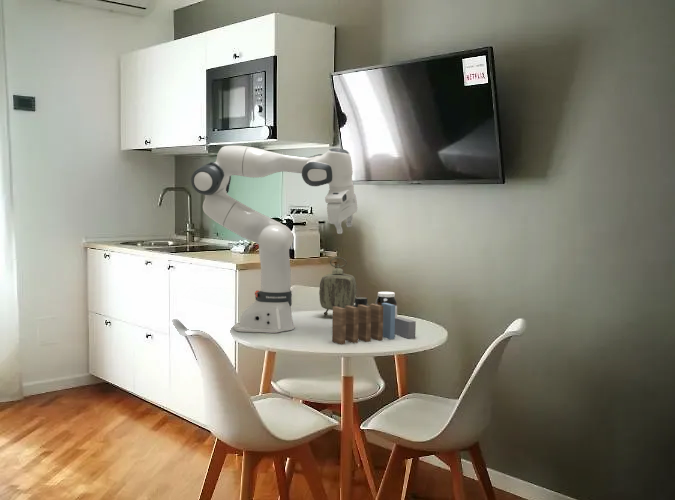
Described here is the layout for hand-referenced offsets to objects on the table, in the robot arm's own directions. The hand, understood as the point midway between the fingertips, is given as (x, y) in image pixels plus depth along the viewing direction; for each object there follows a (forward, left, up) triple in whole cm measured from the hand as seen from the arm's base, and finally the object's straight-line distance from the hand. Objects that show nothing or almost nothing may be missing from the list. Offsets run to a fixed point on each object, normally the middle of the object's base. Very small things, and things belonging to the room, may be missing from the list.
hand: (344, 229), depth 250 cm
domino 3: (+6, -17, -38) cm, 42 cm away
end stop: (+21, -10, -38) cm, 44 cm away
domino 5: (+15, -13, -38) cm, 42 cm away
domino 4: (+10, -15, -38) cm, 42 cm away
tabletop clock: (0, +28, -38) cm, 47 cm away
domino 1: (-3, -21, -38) cm, 43 cm away
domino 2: (+1, -19, -38) cm, 42 cm away
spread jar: (+17, +20, -38) cm, 46 cm away
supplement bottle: (+7, +2, -38) cm, 38 cm away
